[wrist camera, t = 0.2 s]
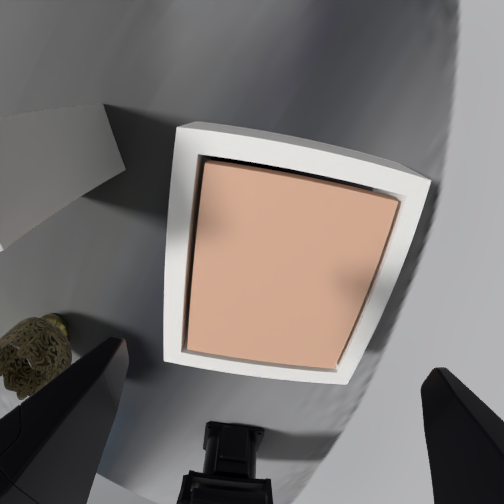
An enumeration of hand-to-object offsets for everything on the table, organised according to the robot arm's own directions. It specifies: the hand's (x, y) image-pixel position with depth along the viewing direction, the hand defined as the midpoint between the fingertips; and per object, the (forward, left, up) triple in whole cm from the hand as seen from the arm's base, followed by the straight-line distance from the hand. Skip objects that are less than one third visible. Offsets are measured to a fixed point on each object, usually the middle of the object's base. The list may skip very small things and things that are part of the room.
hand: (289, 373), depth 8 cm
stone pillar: (+2, +14, -14) cm, 20 cm away
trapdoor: (-3, -1, -14) cm, 15 cm away
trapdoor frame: (-3, -1, -14) cm, 15 cm away
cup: (-15, +18, -15) cm, 28 cm away
